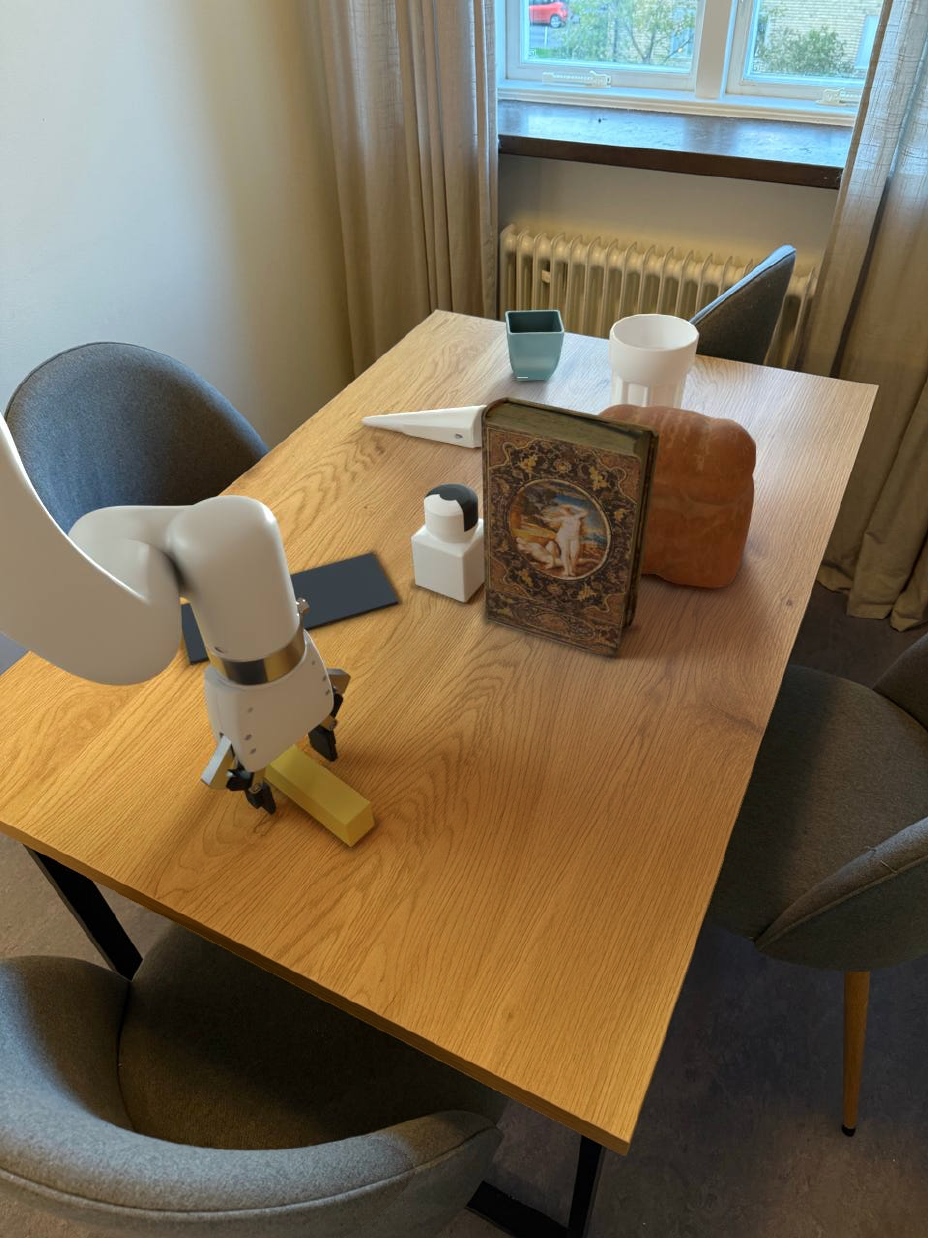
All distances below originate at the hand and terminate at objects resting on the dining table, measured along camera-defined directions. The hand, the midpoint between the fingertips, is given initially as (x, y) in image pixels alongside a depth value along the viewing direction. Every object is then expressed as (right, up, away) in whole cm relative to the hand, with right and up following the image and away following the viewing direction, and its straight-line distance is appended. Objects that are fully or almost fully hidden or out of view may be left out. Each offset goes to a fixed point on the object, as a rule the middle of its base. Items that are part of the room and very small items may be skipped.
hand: (294, 777), depth 78 cm
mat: (-5, +16, +19) cm, 26 cm away
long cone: (+10, +43, +47) cm, 65 cm away
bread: (+39, +24, +25) cm, 52 cm away
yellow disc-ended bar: (0, -1, +1) cm, 1 cm away
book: (+26, +14, +16) cm, 34 cm away
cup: (+41, +39, +42) cm, 70 cm away
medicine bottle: (+15, +20, +22) cm, 33 cm away
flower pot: (+27, +55, +59) cm, 85 cm away
